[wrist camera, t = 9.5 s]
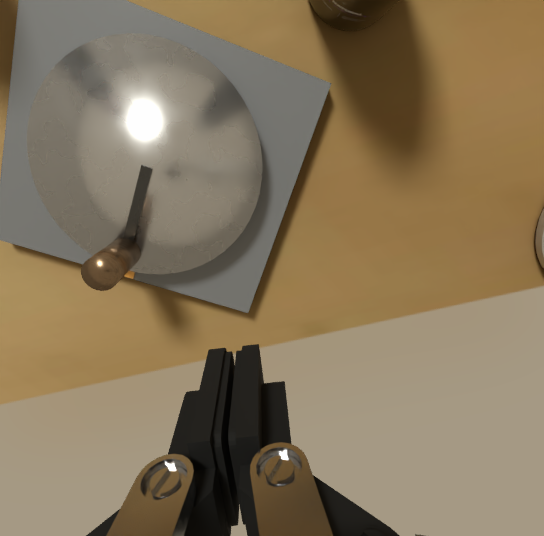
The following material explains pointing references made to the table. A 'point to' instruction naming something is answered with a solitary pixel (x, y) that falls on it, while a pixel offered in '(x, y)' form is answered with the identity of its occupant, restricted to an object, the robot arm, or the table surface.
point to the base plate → (239, 71)
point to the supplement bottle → (351, 12)
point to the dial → (143, 156)
